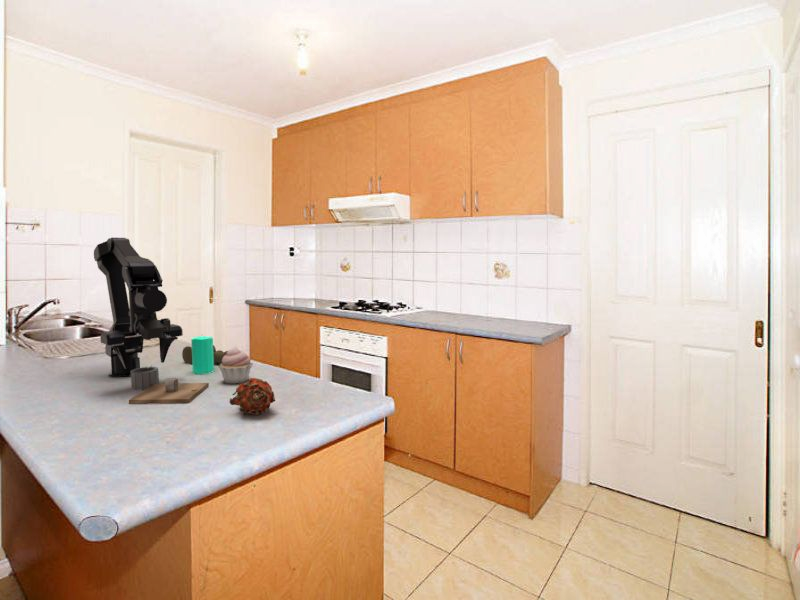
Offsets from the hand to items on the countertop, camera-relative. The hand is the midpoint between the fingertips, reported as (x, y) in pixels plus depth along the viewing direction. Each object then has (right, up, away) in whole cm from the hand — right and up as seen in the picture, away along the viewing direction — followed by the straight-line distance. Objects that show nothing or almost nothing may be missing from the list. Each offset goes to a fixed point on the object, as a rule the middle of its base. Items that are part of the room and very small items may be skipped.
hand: (144, 365), depth 125 cm
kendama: (+5, -3, +28) cm, 29 cm away
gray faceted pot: (0, -6, +1) cm, 6 cm away
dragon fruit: (+35, -8, -19) cm, 41 cm away
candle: (+9, -4, +16) cm, 19 cm away
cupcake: (+23, -6, +6) cm, 24 cm away
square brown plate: (+11, -7, -7) cm, 14 cm away
